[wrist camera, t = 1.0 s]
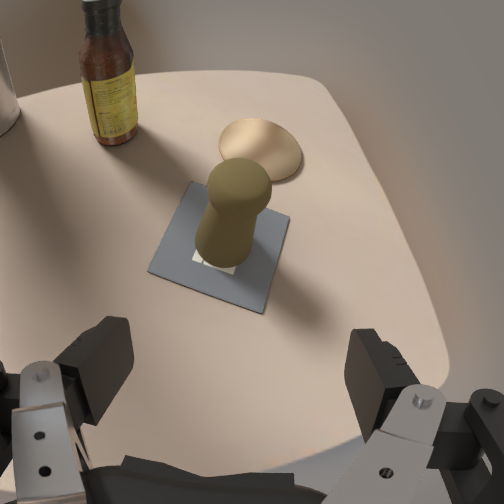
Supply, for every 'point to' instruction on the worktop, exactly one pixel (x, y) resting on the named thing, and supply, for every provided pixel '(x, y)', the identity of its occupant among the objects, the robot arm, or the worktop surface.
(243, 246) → the pepper shaker
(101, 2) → the sauce bottle
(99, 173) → the worktop surface
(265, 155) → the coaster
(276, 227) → the tile
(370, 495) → the robot arm
